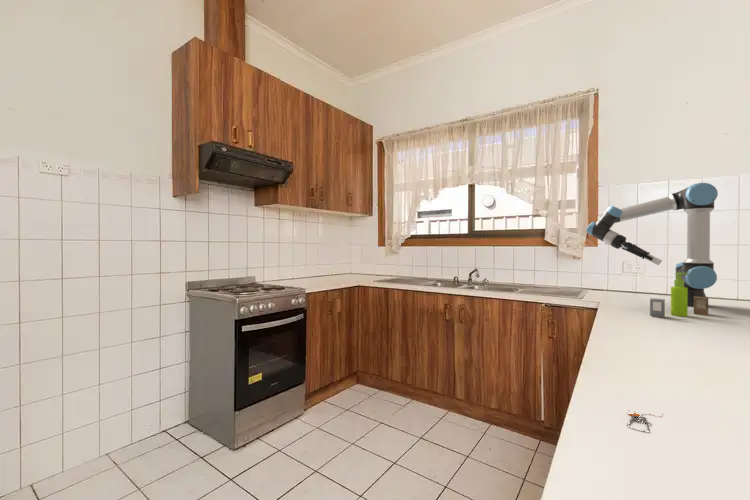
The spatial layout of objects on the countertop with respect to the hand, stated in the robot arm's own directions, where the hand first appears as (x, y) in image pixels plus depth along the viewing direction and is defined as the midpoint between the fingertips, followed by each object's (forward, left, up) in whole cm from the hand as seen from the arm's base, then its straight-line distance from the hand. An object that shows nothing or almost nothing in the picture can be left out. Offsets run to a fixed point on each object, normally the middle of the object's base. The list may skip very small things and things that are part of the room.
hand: (660, 262), depth 178 cm
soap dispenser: (+9, +13, -24) cm, 29 cm away
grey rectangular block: (+21, +10, -24) cm, 33 cm away
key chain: (+131, +67, -25) cm, 149 cm away
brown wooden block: (-4, +15, -24) cm, 29 cm away
